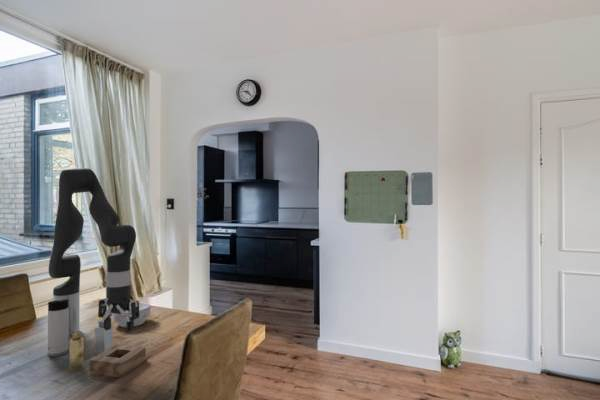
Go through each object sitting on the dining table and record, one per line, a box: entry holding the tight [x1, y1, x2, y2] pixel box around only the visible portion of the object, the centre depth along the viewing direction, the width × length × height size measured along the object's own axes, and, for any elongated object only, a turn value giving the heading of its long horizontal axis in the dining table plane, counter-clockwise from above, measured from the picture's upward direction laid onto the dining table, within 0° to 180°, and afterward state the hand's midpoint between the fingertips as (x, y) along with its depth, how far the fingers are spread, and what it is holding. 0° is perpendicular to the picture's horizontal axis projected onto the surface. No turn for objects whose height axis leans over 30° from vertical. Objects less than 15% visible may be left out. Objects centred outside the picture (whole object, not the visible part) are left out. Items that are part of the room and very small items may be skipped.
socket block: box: [89, 344, 147, 378], centre depth 114 cm, size 12×12×4 cm
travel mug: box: [47, 299, 70, 358], centre depth 124 cm, size 6×7×20 cm
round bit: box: [68, 331, 85, 372], centre depth 113 cm, size 4×4×12 cm
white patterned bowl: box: [112, 301, 151, 328], centre depth 153 cm, size 15×15×8 cm
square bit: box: [94, 319, 114, 356], centre depth 125 cm, size 4×4×12 cm
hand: (118, 330), depth 114 cm, fingers open, 8 cm apart
